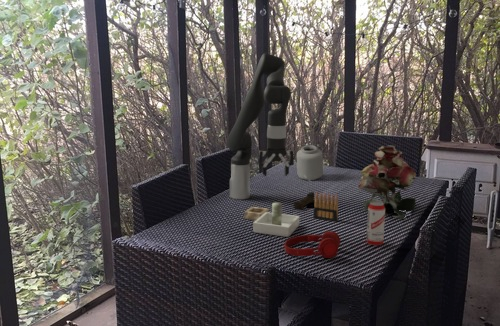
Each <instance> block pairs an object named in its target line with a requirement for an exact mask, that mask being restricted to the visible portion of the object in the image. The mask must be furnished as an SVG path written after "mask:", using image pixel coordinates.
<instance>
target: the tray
mask: <svg viewBox="0 0 500 326" xmlns="http://www.w3.org/2000/svg"><path fill="white" fill-rule="evenodd" d="M300 219H301V218H300V215H293V214H292V215H291V214H285V213H282V226H280V225H273V224H272V212H270V211H269V212H265V213H264V214H263V215H262V216H261V217H259V218H258V219H257V220H254V221H253V222H252V229H253V230H252V232H253V233H256V234H264V235H272V236H279V237H286V238H289V237H290V236H292V234H293V233H294V232H295V231H296V230H297V228H299V226H300Z"/></svg>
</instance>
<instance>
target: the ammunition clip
mask: <svg viewBox="0 0 500 326" xmlns="http://www.w3.org/2000/svg"><path fill="white" fill-rule="evenodd" d="M313 219H315V220H316V219H317V220H321V221H328V222H335V223H336V222H339V200H338V194H335V197H334V194H333V193H331V195H330V193H327V195H326V192H324V193H323V195H322V192H321V191H320V193H319V194H318V191H316V192H315V194H314V208H313Z"/></svg>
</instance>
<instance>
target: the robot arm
mask: <svg viewBox="0 0 500 326" xmlns="http://www.w3.org/2000/svg"><path fill="white" fill-rule="evenodd" d="M285 67H286V65H285V61H284V59H283V58H282V57H279V56H276V55H273V54H270V53H268V52H264V53H263V54H262V55H261V57H260V58H259V61H258V64H257V67H256V71H255V73H254V76H253V78H252V82H251V85H250V87H249V89H248V92H247V94H246V96H245V99H244V101H243V104H242V106H241V109H240V111H239V114H238V116H237V119H236V120H235V123H234V125H233V127H232V128H231V129H230V132H229V135H228V136H227V142H226V143H227V147H228V149H229V150H230V151H232V152H236V154H235V155H233V156H232V157H231V159H230V172H231V173H230V176H231V177H230V178H229V198H231V199H234V200H247V199H249V198H250V196H251V195H250V194H251V193H250V191H251V190H250V189H251V188H250V187H251V185H250V181H251V180H250V179H251V177H250V176H251V175H250V170H251V169H250V163H251V162H250V161H251V158H252V150H253V149H252V147H253V142H252V140H253V139H252V136H251V134H250V133H249V132H248V131H247V130H248V129H249V127H251V125H253V123H255V121H256V120H257V119H258V118H259V116H260V115H261V113H262V110H263V109H264V106H265V103H267V104H268V105H275V104H276V105H280V107H278V108H276V109H271V110H269V111H268V113H267V128H266V150H261V149H259V151H258V158H257V159H258V160H257V164H258V166H260V167H262V168H261V169H262V175H263V176H264V177H267V166H268V165H269V164H270V163H271V162H283V164H284V176H286V177H287V176H288V175H289V174H290V167H291V166H294V164H295V163H294V161H295V160H294V158H295V157H294V151H293V150H292V149H289V150H286V141H287V137H286V136H287V129H286V128H287V127H286V117H287V110H288V107H289V103H290V100H291V96H292V92H291V89H290V87H289V86H287V85H285V82H284V76H285ZM263 75H265V76H266V86H265V89H263V82H262V80H263V79H262V77H263ZM267 76H268V77H267ZM265 155H266V156H267V157H266V158H265V159H264V161H263V157H265ZM286 155H287V156H288V158H289V161H287V160H286V159H285V156H286Z"/></svg>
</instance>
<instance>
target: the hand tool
mask: <svg viewBox="0 0 500 326" xmlns="http://www.w3.org/2000/svg"><path fill="white" fill-rule="evenodd" d="M314 202H315V193H314V192H313V191H312V192H311V191H310V192H309V193H307V194H306V196H305V197H303V198H301V199H299V200H298V201H295V202H294V204H293V209H294V210H298V211H301V210H303V208H304V207H306V206H308V204H311V203H314Z"/></svg>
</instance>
